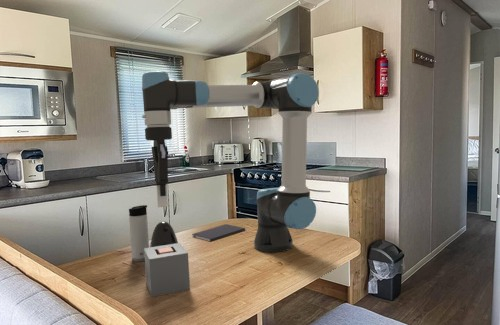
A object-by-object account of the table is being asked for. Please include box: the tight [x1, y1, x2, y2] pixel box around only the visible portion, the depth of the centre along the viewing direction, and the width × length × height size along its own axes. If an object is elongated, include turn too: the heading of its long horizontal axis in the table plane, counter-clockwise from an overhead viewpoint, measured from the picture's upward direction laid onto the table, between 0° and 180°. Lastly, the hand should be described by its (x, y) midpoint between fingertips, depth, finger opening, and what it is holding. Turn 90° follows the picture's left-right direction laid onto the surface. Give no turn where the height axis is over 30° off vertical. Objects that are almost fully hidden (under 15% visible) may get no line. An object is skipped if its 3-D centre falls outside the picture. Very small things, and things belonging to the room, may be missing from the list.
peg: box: [157, 247, 173, 255], centre depth 113 cm, size 4×4×10 cm
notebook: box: [191, 223, 246, 242], centre depth 169 cm, size 13×2×21 cm
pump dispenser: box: [149, 221, 179, 248], centre depth 132 cm, size 10×10×15 cm
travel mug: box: [128, 204, 150, 263], centre depth 138 cm, size 6×7×20 cm
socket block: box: [144, 242, 191, 298], centre depth 113 cm, size 11×11×11 cm
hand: (162, 206), depth 111 cm, fingers closed
